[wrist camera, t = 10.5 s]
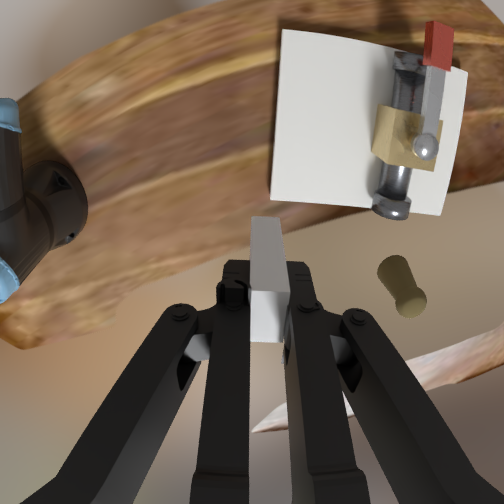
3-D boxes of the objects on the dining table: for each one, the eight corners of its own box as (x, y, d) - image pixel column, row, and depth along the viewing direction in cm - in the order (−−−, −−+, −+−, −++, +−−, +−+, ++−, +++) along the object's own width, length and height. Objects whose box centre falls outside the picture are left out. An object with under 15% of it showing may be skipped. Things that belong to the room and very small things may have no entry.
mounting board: (269, 194, 48) (270, 199, 46) (281, 31, 35) (282, 29, 34) (434, 210, 48) (440, 215, 46) (460, 71, 36) (467, 72, 34)
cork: (395, 248, 52) (420, 287, 42) (413, 267, 54) (438, 305, 44) (370, 272, 54) (390, 313, 45) (389, 288, 56) (409, 329, 47)
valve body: (361, 201, 46) (378, 224, 39) (382, 50, 34) (406, 48, 28) (403, 206, 46) (423, 228, 39) (427, 63, 34) (455, 64, 28)
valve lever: (429, 158, 34) (436, 163, 32) (407, 154, 34) (414, 158, 32) (446, 30, 26) (455, 29, 24) (424, 21, 26) (432, 20, 24)
